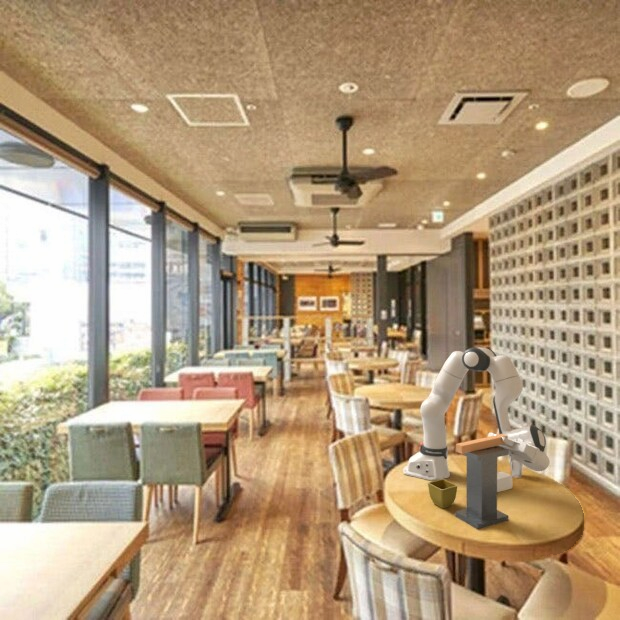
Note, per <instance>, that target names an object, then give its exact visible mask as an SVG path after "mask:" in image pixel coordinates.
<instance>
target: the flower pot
mask: <svg viewBox="0 0 620 620" xmlns="http://www.w3.org/2000/svg"><path fill="white" fill-rule="evenodd" d="M427 487H428V493H429V497H430V499H431V501H432V503H433V504H434V506H435V505H436V506H438V507H439V508H441V509H446V508H448V507H451V506H452V505H453V504H454V503H455V501H456V498H457V492H458V491H457V490H458V485H457V484H454V483H453V482H451V481H448V480H447V479H438V480H434V481H429V482H427Z"/></svg>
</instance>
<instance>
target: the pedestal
mask: <svg viewBox="0 0 620 620" xmlns="http://www.w3.org/2000/svg"><path fill="white" fill-rule="evenodd" d="M454 447H455V449H454V451H455V453H457V454H460V455H462V456H465V457H466V502H465V503H466V504H465V505H466V508H462V509H460V510H455V512H454V516H455V517H456V518H457V519H459V520H461V521H463V523H464V522H465V523H466V524H467V525H469V526H471V527H473V528H474V529H476V530H481V529H484V528H488V527H492V526H496V525H499V524H502V523H505V522H509V518H510V517H509V515H508V514H506V513H504V512H502V511H500V510H498V492H497V472H498V458H499V457H505V456H507V455H509V450H508V449H506V448H503V447H500V446H493V447H489V448H485V449H481V450H476V451H472V452H468V453H464V454H461V453H458V452H456V446H454Z"/></svg>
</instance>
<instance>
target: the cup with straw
mask: <svg viewBox="0 0 620 620" xmlns="http://www.w3.org/2000/svg"><path fill="white" fill-rule="evenodd" d="M506 456H507V457H508V458H509V463H510V473H511V475H512V478H513V477H514V478H522V477H523V476H522V475H523V469H524V465H523V464H522V463H519V462H517V461H516V460H514V459H512V458H511V457H510V456H509V455H506Z"/></svg>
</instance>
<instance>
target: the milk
mask: <svg viewBox="0 0 620 620" xmlns="http://www.w3.org/2000/svg"><path fill="white" fill-rule="evenodd" d="M510 489H511V490H512V489H513V476H512V474H510V473H507V472H504V471H497V493H500V492H502V491H503V492H504V491H507V490H510Z"/></svg>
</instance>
